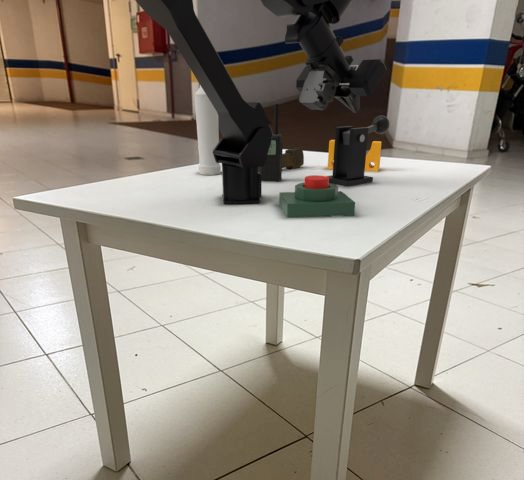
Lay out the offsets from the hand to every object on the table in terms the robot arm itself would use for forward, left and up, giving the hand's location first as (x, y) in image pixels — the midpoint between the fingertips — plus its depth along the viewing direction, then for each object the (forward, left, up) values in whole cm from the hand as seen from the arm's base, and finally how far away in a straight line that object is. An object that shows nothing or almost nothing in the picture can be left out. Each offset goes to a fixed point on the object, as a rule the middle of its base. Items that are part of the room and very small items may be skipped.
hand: (357, 111), depth 99 cm
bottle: (-30, +14, -14) cm, 36 cm away
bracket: (-1, -1, -14) cm, 14 cm away
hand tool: (-14, +16, -14) cm, 26 cm away
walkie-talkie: (-17, +3, -14) cm, 22 cm away
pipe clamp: (+5, +16, -14) cm, 22 cm away
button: (-13, -25, -10) cm, 30 cm away
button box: (-13, -25, -14) cm, 31 cm away
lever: (+3, +2, -6) cm, 7 cm away
